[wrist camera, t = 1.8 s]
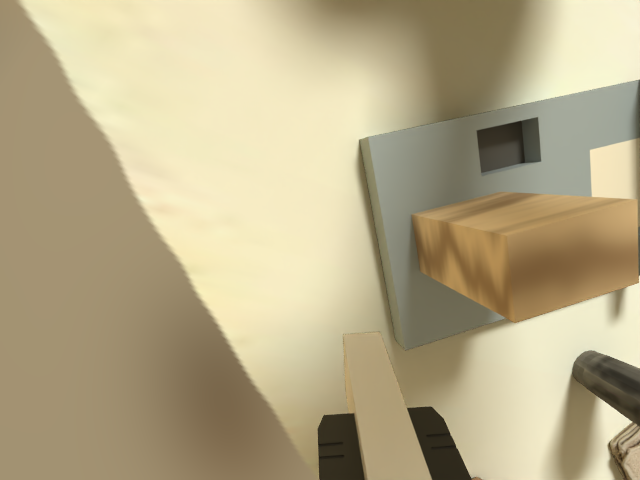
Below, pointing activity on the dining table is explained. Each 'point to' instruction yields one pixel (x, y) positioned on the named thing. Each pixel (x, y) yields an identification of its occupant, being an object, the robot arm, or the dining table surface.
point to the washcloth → (627, 452)
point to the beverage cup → (611, 382)
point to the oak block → (530, 249)
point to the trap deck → (491, 185)
